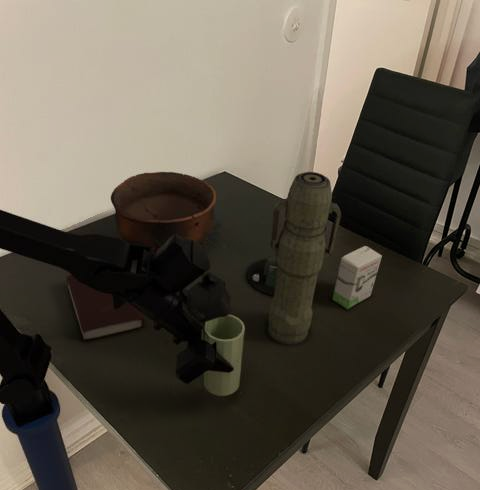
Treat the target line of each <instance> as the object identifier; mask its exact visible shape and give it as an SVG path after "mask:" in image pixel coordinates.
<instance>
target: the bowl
mask: <svg viewBox="0 0 480 490" xmlns="http://www.w3.org/2000/svg"><path fill="white" fill-rule="evenodd" d="M217 200H218V196H217V192H216V190H215V188H214V187H213V186H212V185H210V184H209V183H208V182H206V181H205V180H203V179H200V178H198V177H195V176H192V175H189V174H186V173H181V172H175V171H174V172H173V171H156V172H155V171H154V172H144V173H138V174H135V175H132V176H129V177H128V178H126V179H125V180H123V182H121V183H119V184H118V185H117V186H116V187H115V188H114V189H113V191H112V192H111V195H110V201H111V203H112V206H113V208H114V211H115V212H114V220H115V224H116V228H117V230H118V232H119V233H120V235H121V236H122V238H124V240H126V242H128V243H135V244H142V245H150V246H154V253H155V252H156V251H157V250H158V249H160V248H161V247H162V246H163V245H164V244H165V243H166V242H167V241H168V239H169V238H170V237H172V236H173V235H174V234H177V235H178V236H179V237H180V238H181V239H182V238H189V239H191V240H192V241H193V240H194V241H196V242H197V243H198V244H199V245H200V243H202V242H203V241H204V240H205V239H207V237H209V235H210V233H211V232H212V231H213V229H214V228H213V227H214V225H215V211H214V210H215V209H214V208H215V205H216V203H217Z"/></svg>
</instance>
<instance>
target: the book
mask: <svg viewBox="0 0 480 490" xmlns="http://www.w3.org/2000/svg"><path fill="white" fill-rule="evenodd" d="M66 280H67V290H68V292H69V295H70V299H71V302H72V305H73V310H74V312H75V316H76V319H77V322H78V323H77V324H78V326H79V329H80V333H81V337H82V340H83V341H84V342H85V341H91V340H96V339H100V338H104V337H109V336H113V335H115V334H122V333H125V332H129V331H133V330H137V329H140V328H142V327H143V326H144V318H143V315H142V312H140V311H139V310H138V309H136V308H135V307H133V306H132V305H131V304H129V303H128V302H126V303H125V304H123V305H122V306H121V307H120V308H119V309H114V307H113V306H114V303H113V296H112V294H105V293H101V292H99V291H97V290H95V289H92V288H90V287H88V286H86V285H84V284H82V283H80V282H79V281H78V280H76V279H75V278H74V277H73V276H72V275H71V274H70V275H66Z"/></svg>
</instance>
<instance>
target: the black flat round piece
mask: <svg viewBox="0 0 480 490" xmlns="http://www.w3.org/2000/svg"><path fill="white" fill-rule="evenodd" d="M276 257H277V254H276V253H275V254H274V255H273V256H271V257H269V258H267V259H263V260H259V261H257V262H255V263H254V264H252V265H251V266H250V267H249V269H248V271H247V280H248V282H249V284H250V286H252V288H254V289H255V290H256V291H258V292H260V293H262V294H264V295H268V296H271V297H274V292H275V284H276V276H277V269H278V265H277V261H276Z"/></svg>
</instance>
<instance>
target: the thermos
mask: <svg viewBox="0 0 480 490" xmlns="http://www.w3.org/2000/svg"><path fill="white" fill-rule="evenodd" d="M332 199H333V193H332V184H331V181H330V179H329V178H328V177H327V176H326V175H324V174H322V173H319V172H316V171H305V172H301V173H298V174H297V175H295V177H294V179H293V181H292V183H291V185H290V188H289V191H288V193H287V197H286V198H280V199H279V200H278V201H277V202H276V204H275V205H274V206H273V211H272V224H271V225H272V226H271V234H270V243H269V247H270V249H271V251H272V252H273V253H275V255H276V254H277V257H276V261H277V265H278V269H277V276H276V284H275V292H274V296H273V298H272V299H271V302H270V305H269V311H268V318H267V319H268V324H267V331H268V334H269V336H270V337H271V338H272V339H273V340H274V341H276V342H279V343H280V344H284V345H296V344H300V343H302V342H303V341H305V340H306V339H307V338H308V334H309V330H310V328H311V324H312V319H313V309H312V305H313V300H314V297H315V295H314V294H315V291H316V290H315V289H316V287H317V285H316V284H317V281H318V276H319V272H320V271H321V269H322V267H323V263H324V261H326V258H329V257H333V253H334V250H335V248H336V243H337V238H338V232H339V228H340V225H341V224H340V223H341V220H342V219H341V218H342V212H341V209H340V207H339V205H338V204H337V203H334V202H333V201H332ZM283 208H285V214H284V218H285V221H284V222H283V228H282V230H281V231H280V233H279V236H278V227H279V218H280V212H281V210H282V209H283ZM333 212H334V217H333V222H332V226H331V232H330V237H329V241H328V247H327V235H326V231H327V227H326V225H328V222H329V221H328V219H329V216H330V214H333ZM277 236H278V241H277Z"/></svg>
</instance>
